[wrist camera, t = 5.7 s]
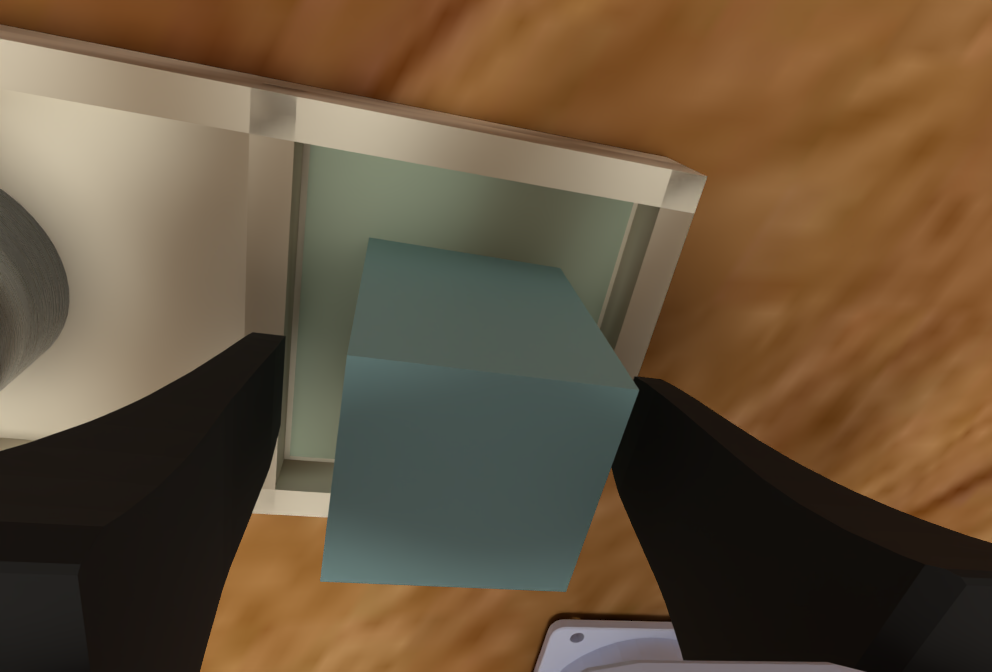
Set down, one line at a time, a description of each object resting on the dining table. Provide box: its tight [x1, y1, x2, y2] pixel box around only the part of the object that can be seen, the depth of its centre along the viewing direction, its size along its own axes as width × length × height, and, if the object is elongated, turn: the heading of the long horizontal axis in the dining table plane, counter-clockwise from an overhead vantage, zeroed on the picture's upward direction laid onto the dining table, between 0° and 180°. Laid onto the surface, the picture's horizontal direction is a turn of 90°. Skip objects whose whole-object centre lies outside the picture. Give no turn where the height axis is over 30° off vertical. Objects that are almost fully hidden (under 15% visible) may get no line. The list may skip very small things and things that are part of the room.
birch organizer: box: [0, 24, 707, 517], centre depth 14 cm, size 20×10×2 cm, turn 79°
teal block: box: [320, 237, 639, 592], centre depth 12 cm, size 4×4×6 cm
